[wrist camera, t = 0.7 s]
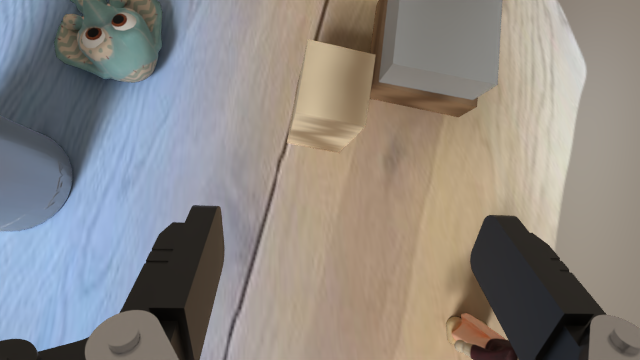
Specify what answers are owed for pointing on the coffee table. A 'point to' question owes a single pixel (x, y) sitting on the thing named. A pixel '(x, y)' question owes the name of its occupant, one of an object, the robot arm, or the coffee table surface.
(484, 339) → the grandmother figurine
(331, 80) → the oak block
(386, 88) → the tower base
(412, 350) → the coffee table surface
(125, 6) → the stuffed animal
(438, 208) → the coffee table surface
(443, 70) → the tower top
